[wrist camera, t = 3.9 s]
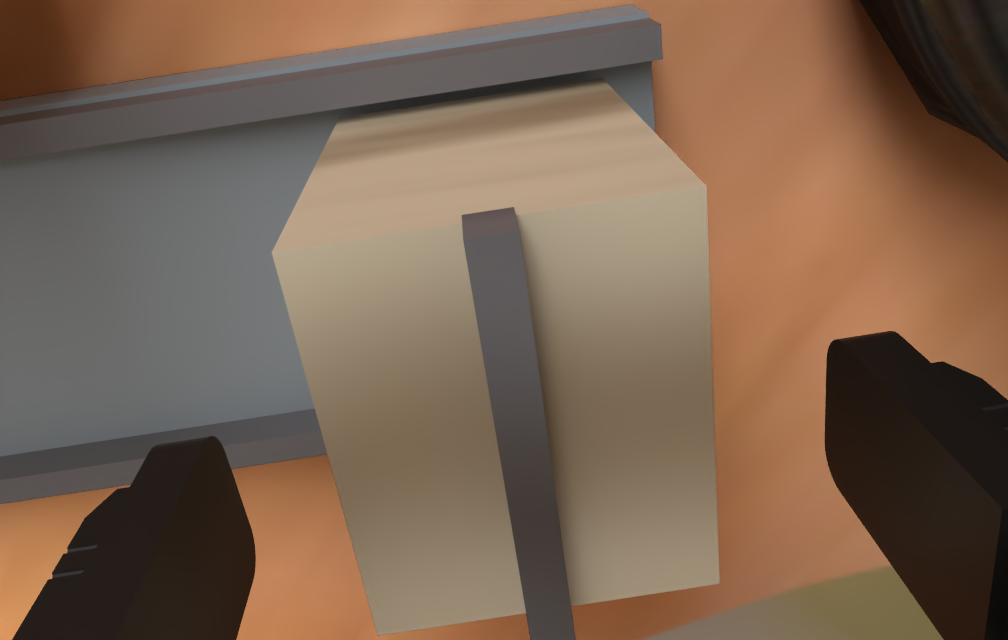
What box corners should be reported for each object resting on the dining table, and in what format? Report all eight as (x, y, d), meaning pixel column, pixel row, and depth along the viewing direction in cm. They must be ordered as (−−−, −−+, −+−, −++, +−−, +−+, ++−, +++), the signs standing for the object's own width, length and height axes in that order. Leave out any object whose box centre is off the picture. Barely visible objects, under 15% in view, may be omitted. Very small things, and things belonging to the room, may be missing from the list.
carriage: (337, 112, 16) (254, 271, 9) (602, 72, 16) (727, 198, 9) (400, 393, 19) (375, 686, 12) (625, 360, 19) (736, 631, 12)
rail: (-300, 146, 17) (-411, 181, 15) (631, 3, 17) (660, 18, 15) (-118, 468, 21) (-187, 536, 18) (655, 350, 21) (680, 404, 18)
